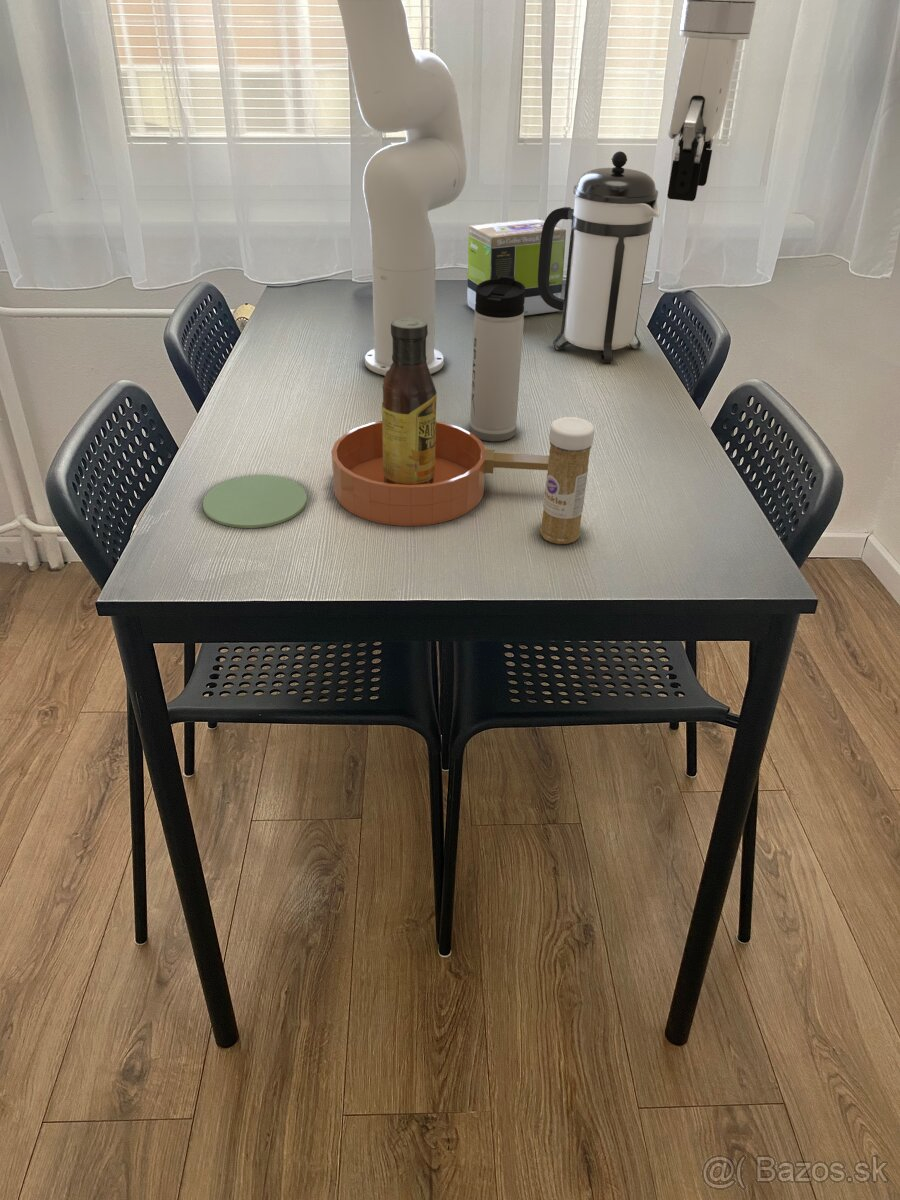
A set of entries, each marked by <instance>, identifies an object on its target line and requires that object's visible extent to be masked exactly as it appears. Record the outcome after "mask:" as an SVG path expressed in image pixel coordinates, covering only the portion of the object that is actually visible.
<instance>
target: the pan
mask: <svg viewBox="0 0 900 1200" xmlns="http://www.w3.org/2000/svg"><path fill="white" fill-rule="evenodd" d="M485 449H486V447H485V445H484V443H483V440H481V439H478V438H477V437H476V436H475V435H474V434H472V433H471V432H470V431H468V430H466V429H464V428H462V427H460V426H457V425H454V424H451V423H448V422H444V421H439V420H436V441H435V475H434V478H433V479H434V480H433V483H431V484H418V485H403V484H389V483H385V482H384V474H383V432H382V420H378V421H373V422H368V423H366V424H363V425H359V426H356V427H354V428H353V429H351V430H348V431H346V432H345V433H343V434H341V436H340V437H339V438H338V439H337V440H336V441H335V442H334V443H333V446H332V448H331V467H332V483H333V492H334V496H335V498H336V500H337V502H338V503H339V504H340V505H341V507H343V508H344V509H345V510H346V511H348V512H349V513H351V514H352V515H355V516H357V517H359V518H361V519H364V520H368V521H370V522H374V523H378V524H383V525H390V526H400V527H418V526H421V527H422V526H429V525H435V524H440V523H445V522H448V521H452V520H455V519H457V518H460V517H462V516H464V515H466V514H468V513H469V512H471V511H472V510H474V509H475V508H476V507H477V506H479V504H480V502H481V501H482V500H483V497H484V495H485V494H484V493H485V481H486V480H485V479H486V473H484V469H485V451H486V450H485Z"/></svg>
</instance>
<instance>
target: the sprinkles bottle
mask: <svg viewBox="0 0 900 1200" xmlns="http://www.w3.org/2000/svg"><path fill="white" fill-rule="evenodd" d="M594 436H595V426H594V425H593V424H592V423H591V422H590V421H589V420H587V419H584V418H580V417H578V416H577V417H576V416H564V417H563V416H562V417H559V418H556V419H555V420H553V421H552V422H551V424H550V428H549V438H548V440H549V445H550V446H549V454H548V456H549V462H548V470H546V472H547V473H546V481H545V485H544V493H543V504H542V507H543V509H542V519H541V526H540V528H539V533H540V536H541V537H542V538H543V539H544V540H546V541H548V542H549V543H551V544H557V545H569V544H571V543H574V542H576V541H577V540H578V539H579V538H580V535H581V530H580V528H581V521H582V514H583V511H584V503H585V495H586V490H587V489H586V487H587V481H588V473H589V461H590V453H591V448H592V446H593V443H594Z"/></svg>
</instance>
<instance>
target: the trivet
mask: <svg viewBox="0 0 900 1200" xmlns="http://www.w3.org/2000/svg"><path fill="white" fill-rule="evenodd" d="M307 503H308V495H307V492H306V490H305V488H304V487H303V486H302V485H300V484H299V483H297V482H296V481H294V480H291V479H289V478H286V477H282V476H276V475H267V474H266V475H263V474H261V475H257V474H256V475H247V476H241V477H236V478H233V479H229V480H226V481H224V482H221V483H219V484H218V485H216V486H214V487H212V488H211V489H210V490H209V491H208V492H207V493H206V494H205V495H204V498H203V500H202V509H203V512H204V514H205V515H206V516H207V517H208V518H209V519H210V520H212V521H213V522H215V523H217V524H219V525H221V526H226V527H231V528H236V529H238V528H239V529H259V528H265V527H266V528H267V527H272V526H276V525H278V524H282V523H285V522H287V521H289V520H291V519H293V518H295V517H296V516H299V514H301V512H302V511H303V510H305V507H306V506H307Z"/></svg>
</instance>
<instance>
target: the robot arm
mask: <svg viewBox="0 0 900 1200" xmlns="http://www.w3.org/2000/svg"><path fill="white" fill-rule="evenodd" d="M756 2H757V0H683V7H682V13H681V21H680V27H679V34H678V36H680V37H685V38H686V42H685V46H684V50H683V54H682V59H681V63H680V68H679V73H678V78H677V84H676V89H675V95H674V100H673V106H672V110H671V117H670V120H669V121H670V122H669V127H668V132H667V136H668V137H669V138H670V139H671V140H675V139H676V138H677V137H678V136H679V137H678V141H677V145H676V149H675V154H674V157H673V160H672V163H671V164H672V165H671V171H670V176H669V181H668V190H667V195H666V197H667V198H668V199H669V200H674V201H676V200H677V201H684V202H693V201H695V199H697V192H698V187H704V186H705V185H706V184H707V181H708V177H709V172H710V171H709V170H710V164H711V161H712V154H713V149H712V146H713V141H714V137H715V135H716V134H717V133H718V131H719V129H720V126H721V122H722V118H723V115H724V110H725V106H726V101H727V98H728V92H729V87H730V82H731V78H732V74H733V73H732V71H733V66H734V62H735V57H736V52H737V51H736V50H737V46H738V40H739V41H740V40H742V41H743V40H749V39H750V36H751V30H752V25H753V21H754V15H755V10H756V5H757V3H756ZM337 4H338V8H339V13H340V17H341V21H342V26H343V31H344V37H345V44H346V49H347V54H348V60H349V65H350V70H351V75H352V76H351V77H352V80H353V85H354V86H353V87H354V91H355V95H356V101H357V105H358V109H359V113H360V116H361V118H362V120H363V121H364V123H365V125H366V126H367V127H369V128H370V129H371V130H372V131H374V132H378V133H383V134H390V133H391V134H392V133H399V132H404V134H405V141H402V142H397V143H392V144H389V145H386V146H384V147H382V148H381V149H379V150H377V151H376V152H375V153H374V154H373V155H372V156H371V157H370V158H369V160H368V162H367V163H366V165H365V168H364V172H363V177H362V190H363V197H364V198H363V199H364V203H365V208H366V212H367V218H368V223H369V234H370V249H371V250H370V252H371V275H372V311H373V312H372V315H373V317H372V318H373V347H374V348H372V349H370V350H369V351H367V353H366V354H365V355H364V365H365V367H366V368H367V369H368V370H369V371H371V372H373V373H374V374H378V375H381V376H384V377H385V375H386V372H387V371H388V370H389V369H390V367H391V365H392V363H393V360H392V355H393V338H392V335H391V322H392V321H393V320H395V319H399V318H418V319H422V320H424V321H426V322H427V330H428V335H427V337H426V357H427V360H426V362H427V366H428V368H429V371H430V374H431V375H432V374H435V373H437V372H438V371H440V370H441V369H443V367H444V364H445V356H444V355H443V353H442V352H441V351H439V350H438V349H436V348H435V337H436V336H435V335H436V334H435V333H436V329H435V328H436V326H435V325H436V267H437V266H436V263H437V262H436V242H435V235H434V233H433V229H432V226H431V223H430V219H429V212H430V211H433V210H436V209H439V208H441V207H445V206H447V205H450V204H451V203H453V202H454V201H456V200H457V198H458V197H459V196H460V195H461V194H462V192H463V190H464V188H465V186H466V185H465V184H466V180H467V157H466V150H465V143H464V142H465V141H464V135H463V128H462V121H461V114H460V107H459V106H460V105H459V100H458V94H457V88H456V85H455V81H454V79H453V76H452V74H451V72H450V70H449V67H448V66H447V65H446V63H445V62H444V61H443V60H442V59H441V58H440V57H439V56H437V54H435V53H433V52H431V51H428V50H424V49H413V45H412V44H413V43H412V39H411V35H410V28H409V21H408V14H407V11H406V6H405V3H404V0H337Z"/></svg>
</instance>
